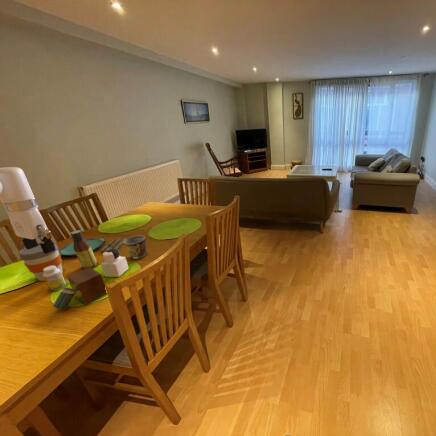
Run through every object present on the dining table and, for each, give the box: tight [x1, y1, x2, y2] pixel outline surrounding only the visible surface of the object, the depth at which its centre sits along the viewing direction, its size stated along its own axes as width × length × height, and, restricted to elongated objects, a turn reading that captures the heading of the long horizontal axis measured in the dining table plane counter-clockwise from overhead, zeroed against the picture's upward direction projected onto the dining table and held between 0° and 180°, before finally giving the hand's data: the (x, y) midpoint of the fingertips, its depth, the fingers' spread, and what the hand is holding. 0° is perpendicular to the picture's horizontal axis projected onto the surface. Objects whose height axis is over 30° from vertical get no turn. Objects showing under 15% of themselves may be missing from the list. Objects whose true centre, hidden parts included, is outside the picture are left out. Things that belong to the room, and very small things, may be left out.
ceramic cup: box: [123, 235, 147, 260], centre depth 129 cm, size 13×10×10 cm
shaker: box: [52, 287, 77, 310], centre depth 94 cm, size 8×4×8 cm, turn 150°
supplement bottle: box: [43, 266, 67, 291], centre depth 105 cm, size 6×6×10 cm
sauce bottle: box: [70, 229, 98, 270], centre depth 118 cm, size 6×6×20 cm
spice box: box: [66, 267, 108, 305], centre depth 100 cm, size 8×10×10 cm
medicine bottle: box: [100, 248, 130, 278], centre depth 115 cm, size 7×7×12 cm
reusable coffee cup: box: [18, 241, 64, 282], centre depth 113 cm, size 13×13×15 cm
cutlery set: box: [58, 237, 127, 258], centre depth 139 cm, size 20×30×2 cm, turn 101°
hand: (41, 249), depth 86 cm, fingers open, 9 cm apart
